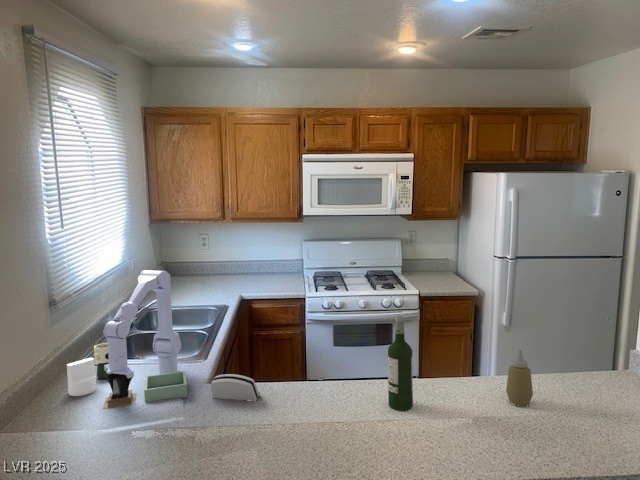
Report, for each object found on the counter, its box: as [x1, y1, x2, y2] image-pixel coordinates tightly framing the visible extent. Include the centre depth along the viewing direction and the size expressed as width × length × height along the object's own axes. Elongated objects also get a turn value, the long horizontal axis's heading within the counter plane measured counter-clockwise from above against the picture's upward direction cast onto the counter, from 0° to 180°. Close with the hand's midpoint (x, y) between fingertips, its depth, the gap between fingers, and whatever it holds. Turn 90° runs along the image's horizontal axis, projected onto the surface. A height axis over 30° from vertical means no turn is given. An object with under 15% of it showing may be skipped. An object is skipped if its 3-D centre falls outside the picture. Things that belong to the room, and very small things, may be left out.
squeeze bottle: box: [505, 349, 534, 407], centre depth 147 cm, size 8×8×18 cm
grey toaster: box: [210, 373, 261, 402], centre depth 157 cm, size 17×5×10 cm, turn 76°
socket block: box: [102, 389, 138, 410], centre depth 155 cm, size 10×10×3 cm
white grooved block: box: [66, 357, 97, 397], centre depth 164 cm, size 9×9×12 cm
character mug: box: [93, 342, 109, 379], centre depth 180 cm, size 11×7×13 cm, turn 172°
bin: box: [143, 370, 188, 403], centre depth 163 cm, size 14×14×5 cm
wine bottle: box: [387, 315, 414, 412], centre depth 147 cm, size 8×8×30 cm
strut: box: [112, 376, 127, 399], centre depth 155 cm, size 4×4×8 cm
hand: (120, 394), depth 155 cm, fingers closed on strut, 4 cm apart
